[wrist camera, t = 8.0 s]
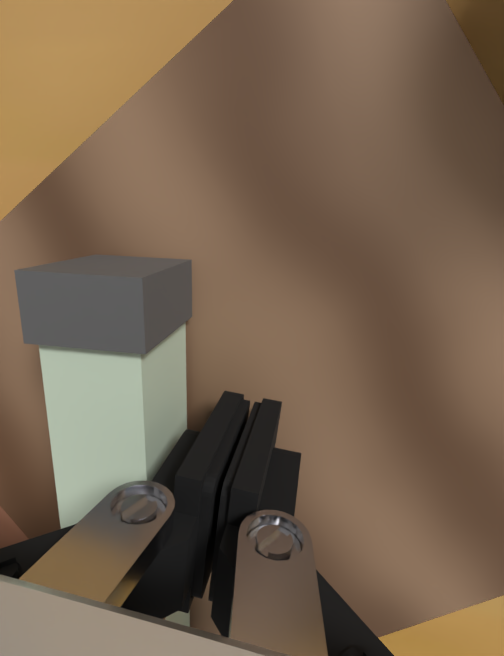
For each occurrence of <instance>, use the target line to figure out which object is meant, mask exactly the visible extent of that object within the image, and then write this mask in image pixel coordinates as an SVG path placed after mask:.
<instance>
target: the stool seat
mask: <svg viewBox="0 0 504 656" xmlns="http://www.w3.org/2000/svg"><path fill="white" fill-rule="evenodd" d="M91 255H113V256H132V257H151V258H170V259H189V260H192V317H191V318H190V319H189V320H188V321H186V391H187V429H190V430H194V431H199V432H201V430H202V428H203V427H204V425H205V423H206V422H207V420H208V418H209V416H210V415H211V413H212V411H213V410H214V408H215V406H216V404H217V403H218V401H219V399H220V398H221V396H222V394H223V392H224V391H230V392H235V393H240V394H244V400H249V401H250V408H249V415H250V413H251V410H252V407H253V405H254V402H260V403H262V400H263V398H266V399H271V400H276V401H281V402H282V407H281V413H280V419H279V425H278V432H277V438H276V444H275V448H280V449H285V450H289V451H294V452H299V453H301V461H300V470H299V479H298V488H297V497H296V505H295V514H294V517H295V518H297V519H298V520H299V521H300V522H302V523H303V524H304V526H305V527H306V529H307V530H308V531H309V534H310V537H311V540H312V545H313V552H314V559H315V567H316V570H317V571H318V572H319V573H320V574H321V575H322V576H323V577H324V579H325V580H326V581H327V582H328V583H329V584H330V585H331V586H332V587H333V589H334V590H335V591H336V592H337V593H338V594H339V595H340V596H341V597H342V599H343V600H344V601H345V602H346V603H347V604H348V605H349V606H350V607H351V609H352V610H353V611H354V612H355V613H356V614H357V615H358V616H359V617H360V619H361V620H362V621H363V622H364V623H365V624H366V625H367V626H368V627H369V629H370V630H371V631H372V632H373V633H374V634H375V635H376V636H377V637H381V636H384V635H387V634H390V633H393V632H396V631H399V630H402V629H405V628H408V627H411V626H414V625H417V624H420V623H422V622H425V621H428V620H431V619H434V618H437V617H440V616H443V615H446V614H449V613H452V612H455V611H458V610H461V609H464V608H467V607H470V606H473V605H476V604H479V603H482V602H485V601H488V600H491V599H494V598H497V597H500V596H502V595H504V105H503V103H502V101H501V99H500V98H499V96H498V94H497V92H496V90H495V89H494V87H493V85H492V83H491V81H490V80H489V78H488V76H487V74H486V72H485V71H484V69H483V67H482V65H481V63H480V62H479V60H478V58H477V56H476V54H475V52H474V51H473V49H472V47H471V45H470V43H469V42H468V40H467V38H466V36H465V34H464V33H463V31H462V29H461V27H460V25H459V24H458V22H457V20H456V18H455V16H454V14H453V13H452V11H451V9H450V7H449V5H448V4H447V2H446V0H233V1H232V2H231V3H230V4H229V5H228V6H227V7H226V8H225V9H224V10H223V11H222V12H221V13H220V14H219V15H218V16H217V17H215V18H214V19H213V20H212V21H211V22H210V23H209V24H208V25H207V26H206V27H205V28H204V29H203V30H202V31H201V32H200V33H199V34H198V35H196V36H195V37H194V38H193V39H192V40H191V41H190V42H189V43H188V44H187V45H186V46H185V47H184V48H183V49H182V50H181V51H180V52H179V53H177V54H176V55H175V56H174V57H173V58H172V59H171V60H170V61H169V62H168V63H167V64H166V65H165V66H164V67H163V68H162V69H161V70H159V71H158V72H157V73H156V74H155V75H154V76H153V77H152V78H151V79H150V80H149V81H148V82H147V83H146V84H145V85H144V86H143V87H142V88H140V89H139V90H138V91H137V92H136V93H135V94H134V95H133V96H132V97H131V98H130V99H129V100H128V101H127V102H126V103H125V104H124V105H123V106H121V107H120V108H119V109H118V110H117V111H116V112H115V113H114V114H113V115H112V116H111V117H110V118H109V119H108V120H107V121H106V122H105V123H104V124H102V125H101V126H100V127H99V128H98V129H97V130H96V131H95V132H94V133H93V134H92V135H91V136H90V137H89V138H88V139H87V140H86V141H84V142H83V143H82V144H81V145H80V146H79V147H78V148H77V149H76V150H75V151H74V152H73V153H72V154H71V155H70V156H69V157H68V158H67V159H65V160H64V161H63V162H62V163H61V164H60V165H59V166H58V167H57V168H56V169H55V170H54V171H53V172H52V173H51V174H50V175H49V176H48V177H46V178H45V179H44V180H43V181H42V182H41V183H40V184H39V185H38V186H37V187H36V188H35V189H34V190H33V191H32V192H31V193H30V194H28V195H27V196H26V197H25V198H24V199H23V200H22V201H21V202H20V203H19V204H18V205H17V206H16V207H15V208H14V209H13V210H12V211H11V212H9V213H8V214H7V215H6V216H5V217H4V218H3V219H2V220H1V221H0V549H1V548H4V547H7V546H10V545H13V544H16V543H19V542H22V541H25V540H28V539H31V538H34V537H37V536H41V535H44V534H47V533H50V532H53V531H56V530H59V529H61V526H60V518H59V509H58V501H57V493H56V485H55V476H54V468H53V460H52V451H51V443H50V435H49V427H48V418H47V410H46V402H45V393H44V385H43V377H42V369H41V360H40V352H39V345H35V344H24V341H23V333H22V326H21V318H20V310H19V303H18V295H17V288H16V280H15V272H14V270H17V269H23V268H28V267H33V266H38V265H44V264H49V263H54V262H59V261H65V260H70V259H75V258H80V257H86V256H91ZM249 415H248V418H249ZM210 580H211V574H210V577H209V580H208V583H207V586H206V589H205V592H204V595H203V598H202V599H200V598H197V597H194V599H193V601H192V604H191V607H190V627H192V628H196V629H199V630H203V631H206V632H210V633H214V634H217V635H221V634H220V632H219V631H218V629H217V627H216V625H215V624H214V622H213V620H212V618H211V610H212V601H208V596H209V588H210Z"/></svg>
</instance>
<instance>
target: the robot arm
mask: <svg viewBox="0 0 504 656" xmlns="http://www.w3.org/2000/svg"><path fill="white" fill-rule="evenodd" d="M281 407H282V402H281V401H276V400H271V399H266V398H263V400H262V403H260V402H254V405H253V407H252V410H251V413H250V415H249V408H250V401H249V400H244V394H240V393H235V392H230V391H224V392H223V394H222V396H221V398H220V399H219V401H218V403H217V404H216V406H215V408H214V410H213V411H212V413H211V415H210V416H209V418H208V420H207V422H206V423H205V425H204V427H203V428H202V430H201V432H199V431H194V430H190V429H186V430H185V431H184V432H183V434H182V436H181V437H180V439H179V440H178V442H177V443H176V445H175V446H174V448H173V449H172V451H171V452H170V454H169V455H168V457H167V458H166V460H165V461H164V463H163V464H162V466H161V467H160V469H159V470H158V472H157V473H156V475H155V476H154V478H153V480H152V481H133V482H128V483H125V484H123V485H120V486H118V487H116V488H115V489H114V490H112V491H111V492H110V493H108V494H107V495H106V496H105V497H104V498H103V499H102V500H101V501H100V502H99V503H98V504H97V505H96V506H95V507H94V508H93V509H92V510H91V511H90V512H89V513H87V514H86V515H85V516H84V517H83V518H82V519H81V520H80V521H79V522H78V523H77V524H74V525H71V526H68V527H65V528H62V529H59V530H56V531H53V532H50V533H47V534H44V535H41V536H37V537H34V538H31V539H28V540H25V541H22V542H19V543H16V544H13V545H10V546H7V547H4V548H1V549H0V656H394V655H393V654H392V653H391V652H390V651H389V650H388V649H387V647H386V646H385V645H384V644H383V643H382V642H381V641H380V640H379V639H378V637H377V636H376V635H375V634H374V633H373V632H372V631H371V630H370V629H369V627H368V626H367V625H366V624H365V623H364V622H363V621H362V620H361V619H360V617H359V616H358V615H357V614H356V613H355V612H354V611H353V610H352V609H351V607H350V606H349V605H348V604H347V603H346V602H345V601H344V600H343V599H342V597H341V596H340V595H339V594H338V593H337V592H336V591H335V590H334V589H333V587H332V586H331V585H330V584H329V583H328V582H327V581H326V580H325V579H324V577H323V576H322V575H321V574H320V573H319V572H318V571H317V570H316V567H315V559H314V552H313V545H312V540H311V537H310V534H309V531H308V530H307V529H306V527H305V526H304V524H303V523H302V522H300V521H299V520H298V519H297V518H295V517H294V514H295V505H296V497H297V488H298V479H299V470H300V461H301V453H299V452H294V451H289V450H285V449H280V448H275V444H276V438H277V432H278V425H279V419H280V413H281ZM248 415H249V418H248ZM210 574H211V580H210V588H209V596H208V601H212V610H211V618H212V620H213V622H214V624H215V625H216V627H217V629H218V631H219V632H220V634H221V635H217V634H214V633H210V632H206V631H203V630H199V629H196V628H192V627H189V626H185V625H181V624H178V623H174V622H171V621H167V620H165V618H166V617H167V616H169V615H171V614H173V613H175V612H177V611H181V612H184V613H189V610H190V607H191V604H192V601H193V599H194V597H197V598H200V599H202V598H203V595H204V592H205V589H206V586H207V583H208V580H209V577H210Z"/></svg>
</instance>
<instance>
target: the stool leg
mask: <svg viewBox="0 0 504 656" xmlns="http://www.w3.org/2000/svg"><path fill="white" fill-rule="evenodd" d="M14 272H15V280H16V288H17V295H18V303H19V310H20V318H21V326H22V333H23V341H24V344H35V345H39V352H40V360H41V369H42V377H43V385H44V393H45V402H46V410H47V418H48V427H49V435H50V443H51V451H52V460H53V468H54V476H55V485H56V493H57V501H58V509H59V518H60V526H61V529H62V528H65V527H68V526H71V525H74V524H77V523H78V522H79V521H80V520H81V519H82V518H83V517H84V516H85V515H86V514H87V513H89V512H90V511H91V510H92V509H93V508H94V507H95V506H96V505H97V504H98V503H99V502H100V501H101V500H102V499H103V498H104V497H105V496H106V495H107V494H108V493H110V492H111V491H112V490H114V489H115V488H116V487H118V486H120V485H123V484H125V483H128V482H133V481H152V480H153V478H154V476H155V475H156V473H157V472H158V470H159V469H160V467H161V466H162V464H163V463H164V461H165V460H166V458H167V457H168V455H169V454H170V452H171V451H172V449H173V448H174V446H175V445H176V443H177V442H178V440H179V439H180V437H181V436H182V434H183V432H184V431H185V430H186V429H187V391H186V321H188V320H189V319H190V318H191V317H192V260H189V259H170V258H151V257H132V256H113V255H91V256H86V257H80V258H75V259H70V260H65V261H59V262H54V263H49V264H44V265H38V266H33V267H28V268H23V269H17V270H14ZM165 620H167V621H171V622H174V623H178V624H181V625H185V626H189V627H190V610H189V613H184V612H181V611H177V612H175V613H173V614H171V615H169V616H167V617H166V618H165Z"/></svg>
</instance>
